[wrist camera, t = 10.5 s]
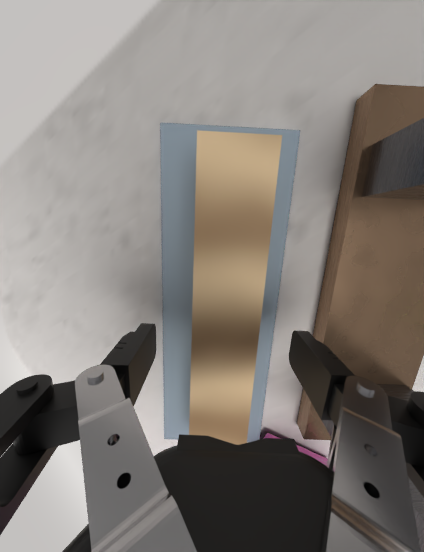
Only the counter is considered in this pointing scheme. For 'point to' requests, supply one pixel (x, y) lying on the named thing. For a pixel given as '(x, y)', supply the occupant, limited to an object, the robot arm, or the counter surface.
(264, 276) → the oak rail
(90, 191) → the counter surface
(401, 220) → the hook rack
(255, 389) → the slate mat
